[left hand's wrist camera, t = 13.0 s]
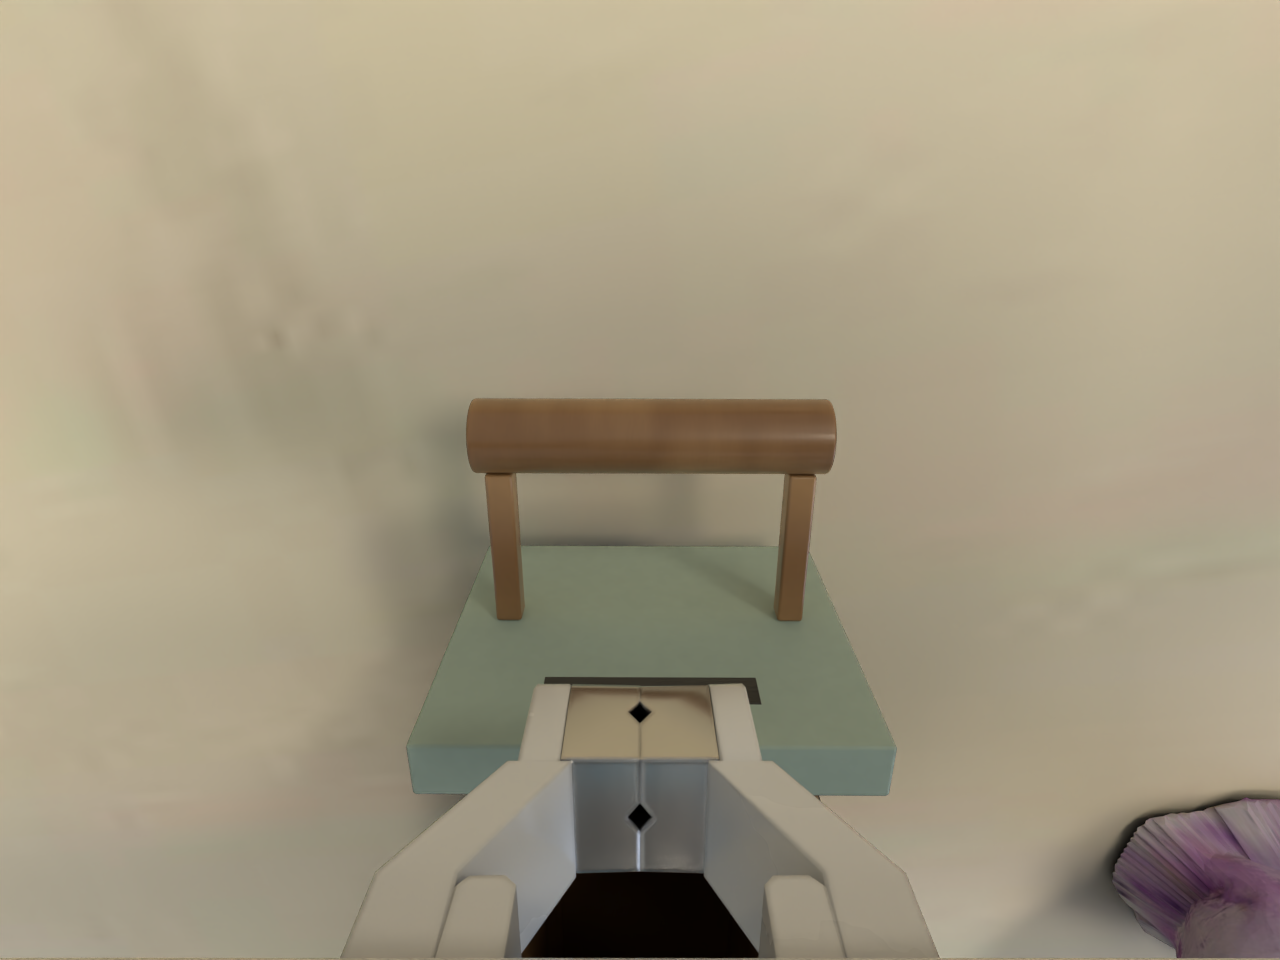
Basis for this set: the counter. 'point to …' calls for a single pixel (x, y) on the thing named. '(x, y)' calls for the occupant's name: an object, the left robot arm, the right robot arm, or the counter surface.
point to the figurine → (1208, 880)
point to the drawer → (651, 635)
